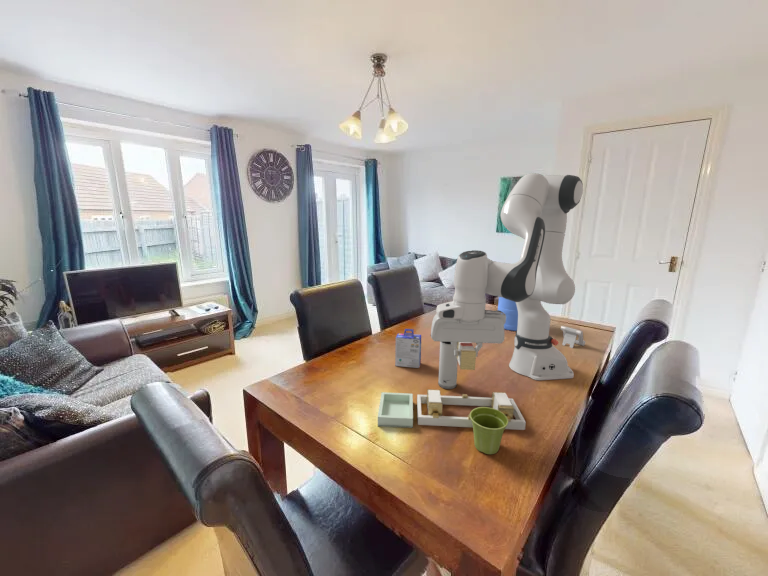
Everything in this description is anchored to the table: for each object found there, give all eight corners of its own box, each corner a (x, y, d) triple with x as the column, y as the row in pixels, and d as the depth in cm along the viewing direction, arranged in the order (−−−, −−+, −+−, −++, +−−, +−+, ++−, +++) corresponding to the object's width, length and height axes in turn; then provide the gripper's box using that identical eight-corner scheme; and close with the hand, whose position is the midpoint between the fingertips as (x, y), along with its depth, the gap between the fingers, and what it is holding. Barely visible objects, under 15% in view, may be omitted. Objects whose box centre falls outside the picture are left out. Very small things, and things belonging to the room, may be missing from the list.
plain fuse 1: (439, 405, 103) (439, 388, 102) (441, 422, 95) (442, 404, 94) (426, 405, 103) (427, 388, 102) (428, 421, 95) (428, 403, 94)
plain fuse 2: (503, 408, 102) (505, 391, 100) (511, 425, 93) (513, 407, 92) (491, 408, 102) (492, 390, 100) (498, 425, 94) (499, 406, 92)
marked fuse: (469, 358, 98) (470, 338, 97) (474, 371, 90) (476, 350, 89) (456, 357, 99) (457, 338, 97) (460, 370, 90) (461, 349, 89)
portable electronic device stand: (584, 345, 149) (587, 328, 147) (577, 349, 145) (579, 332, 143) (565, 339, 156) (567, 323, 154) (557, 343, 151) (559, 326, 149)
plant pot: (461, 437, 89) (463, 409, 87) (492, 432, 91) (495, 404, 89) (478, 462, 80) (481, 431, 78) (512, 456, 82) (516, 426, 80)
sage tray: (412, 401, 105) (412, 393, 104) (412, 428, 92) (412, 418, 92) (381, 400, 106) (381, 392, 105) (377, 426, 93) (377, 417, 92)
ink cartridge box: (421, 362, 133) (422, 328, 129) (419, 368, 127) (420, 333, 124) (397, 360, 134) (397, 327, 131) (394, 366, 129) (395, 332, 126)
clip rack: (512, 405, 103) (513, 396, 102) (525, 430, 91) (526, 419, 91) (417, 401, 105) (417, 392, 105) (417, 424, 94) (418, 414, 93)
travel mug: (446, 391, 111) (449, 336, 106) (434, 382, 117) (436, 330, 112) (460, 387, 114) (463, 333, 109) (448, 378, 119) (451, 327, 115)
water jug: (532, 331, 166) (538, 277, 160) (501, 331, 167) (506, 277, 160) (520, 321, 182) (525, 272, 175) (492, 321, 182) (496, 272, 175)
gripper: (503, 307, 93) (499, 352, 96) (431, 305, 94) (429, 349, 98) (510, 314, 87) (505, 361, 90) (433, 311, 88) (431, 359, 91)
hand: (465, 355), depth 94 cm, fingers closed on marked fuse, 3 cm apart
